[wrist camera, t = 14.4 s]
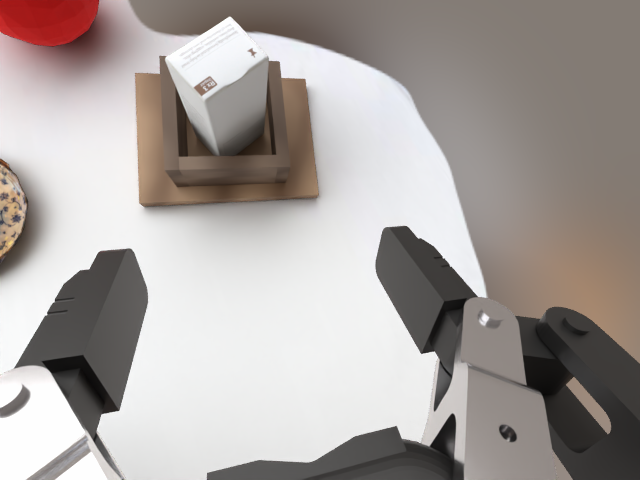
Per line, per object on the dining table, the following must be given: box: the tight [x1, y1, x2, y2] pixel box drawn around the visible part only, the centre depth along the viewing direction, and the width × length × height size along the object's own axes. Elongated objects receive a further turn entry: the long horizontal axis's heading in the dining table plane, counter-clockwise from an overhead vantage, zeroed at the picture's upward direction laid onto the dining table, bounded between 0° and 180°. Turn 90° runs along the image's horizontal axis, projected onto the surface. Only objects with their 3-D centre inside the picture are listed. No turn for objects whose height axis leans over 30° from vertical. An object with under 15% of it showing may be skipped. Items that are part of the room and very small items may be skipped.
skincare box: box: [165, 17, 269, 156], centre depth 27 cm, size 6×4×12 cm
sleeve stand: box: [135, 56, 319, 207], centre depth 31 cm, size 18×14×6 cm
